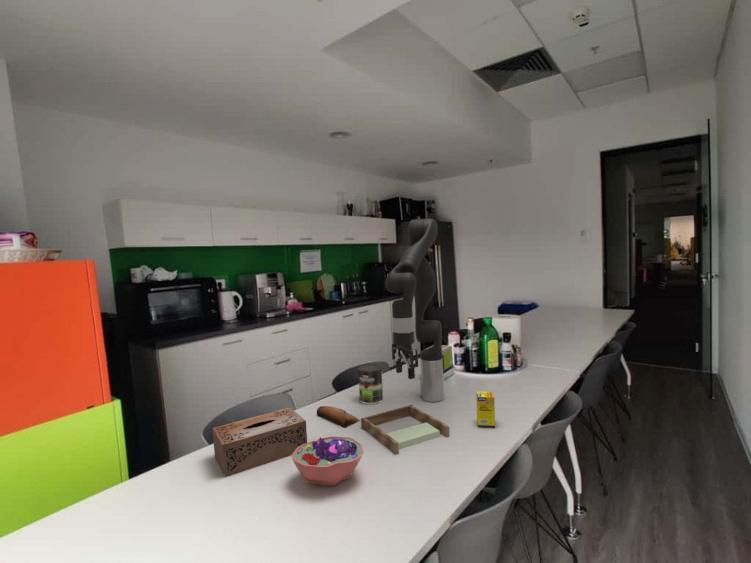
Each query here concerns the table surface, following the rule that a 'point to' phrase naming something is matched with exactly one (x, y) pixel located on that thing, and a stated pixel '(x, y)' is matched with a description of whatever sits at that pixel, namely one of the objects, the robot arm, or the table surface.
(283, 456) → the tissue box cover
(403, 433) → the cover plate
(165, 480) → the table surface
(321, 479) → the cell model
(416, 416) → the open wooden frame
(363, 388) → the coffee can
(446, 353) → the tea box
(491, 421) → the supplement box
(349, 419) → the sunglasses case
